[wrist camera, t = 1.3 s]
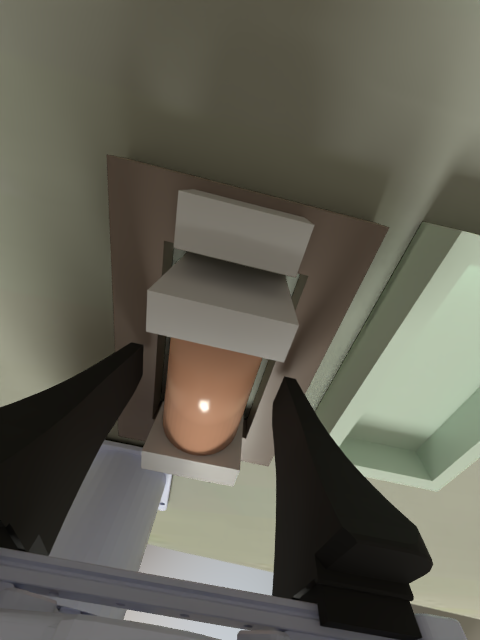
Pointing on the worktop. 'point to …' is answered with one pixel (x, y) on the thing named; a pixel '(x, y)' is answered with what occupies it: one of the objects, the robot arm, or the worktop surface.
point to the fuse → (212, 360)
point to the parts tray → (415, 369)
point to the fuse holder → (235, 246)
